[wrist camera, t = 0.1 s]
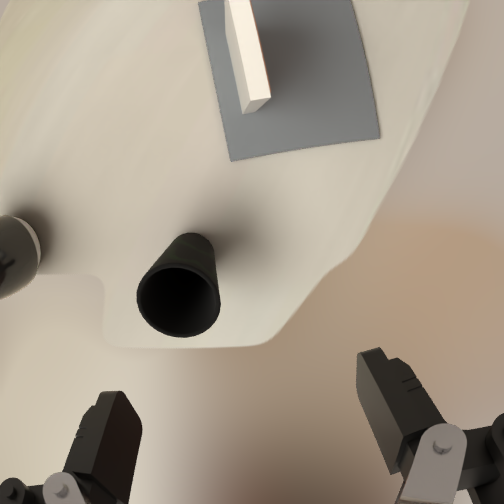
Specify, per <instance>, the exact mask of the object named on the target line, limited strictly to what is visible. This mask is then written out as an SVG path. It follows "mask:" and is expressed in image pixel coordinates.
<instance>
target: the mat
mask: <svg viewBox="0 0 504 504" xmlns="http://www.w3.org/2000/svg"><path fill="white" fill-rule="evenodd" d="M251 4H252V8H253V12H254V16H255V20H256V24H257V29H258V33H259V37H260V42H261V46H262V51H263V55H264V60H265V64H266V69H267V74H268V78H269V83H270V88H271V93H270V94H271V98H270V99H269V100H268V101H267V102H265V103H264V104H263V105H262V106H261V107H260V108H259V109H258V110H257V111H256V112H253V113H248V114H242V110H241V105H240V100H239V95H238V90H237V85H236V81H235V76H234V71H233V66H232V62H231V57H230V52H229V47H228V43H227V38H226V33H225V4H224V0H207V1H202V2H198V5H199V10H200V15H201V20H202V25H203V30H204V35H205V40H206V45H207V49H208V54H209V59H210V64H211V69H212V74H213V79H214V84H215V88H216V93H217V98H218V103H219V108H220V113H221V117H222V122H223V127H224V132H225V137H226V142H227V146H228V151H229V156H230V161H231V162H233V161H237V160H242V159H247V158H253V157H258V156H263V155H269V154H274V153H280V152H286V151H292V150H298V149H304V148H311V147H317V146H324V145H331V144H339V143H347V142H355V141H363V140H372V139H380V135H379V128H378V121H377V115H376V109H375V103H374V97H373V92H372V87H371V82H370V77H369V72H368V67H367V62H366V58H365V54H364V49H363V45H362V41H361V37H360V33H359V29H358V26H357V22H356V18H355V15H354V11H353V8H352V4H351V1H350V0H251Z"/></svg>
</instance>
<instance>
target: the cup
mask: <svg viewBox="0 0 504 504" xmlns="http://www.w3.org/2000/svg"><path fill="white" fill-rule="evenodd" d="M137 304H138V308H139V311H140V313H141V314H142V316H143V318H144V319H145V320H146V321H147V323H148V324H149V325H150V326H152V327H153V328H154V329H156V330H157V331H159V332H161V333H163V334H165V335H168V336H172V337H181V338H187V337H192V336H196V335H199V334H201V333H203V332H205V331H206V330H208V329H209V328H210V327H211V326H212V325H213V324H214V323H215V321H216V320H217V317H218V315H219V313H220V306H221V302H220V295H219V287H218V280H217V273H216V265H215V258H214V250H213V247H212V245H211V243H210V242H209V241H208V240H207V239H206V238H205V237H203V236H201V235H199V234H196V233H186V234H182V235H180V236H178V237H177V238H176V239H175V240H174V241H173V242H172V243H171V244H170V246H169V247H168V248H167V249H166V250H165V251H164V253H163V254H162V255H161V256H160V257H159V259H158V260H157V261H156V262H155V263H154V264H153V266H152V267H151V268H150V269H149V270H148V272H147V273H146V274H145V275H144V277H143V278H142V280H141V281H140V283H139V286H138V289H137Z"/></svg>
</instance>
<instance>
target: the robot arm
mask: <svg viewBox="0 0 504 504" xmlns="http://www.w3.org/2000/svg"><path fill="white" fill-rule="evenodd" d="M356 376H357V377H356V388H357V393H358V397H359V400H360V402H361V405H362V407H363V410H364V412H365V414H366V417H367V419H368V421H369V424H370V426H371V428H372V431H373V433H374V436H375V438H376V440H377V443H378V445H379V448H380V450H381V452H382V455H383V457H384V460H385V462H386V465H387V467H388V470H389V472H390V475H392V474H395V473H397V472H401V474H402V476H403V479H404V481H403V483H402V486H401V488H400V491H399V493H398V496H397V498H396V501H395V503H394V504H453V501H454V498H455V494H456V491H459V490H464V489H467V491H468V493H469V495H470V498H471V500H472V503H473V504H504V413H503V414H501V415H499V416H498V417H497V418H496V419H495V421H494V422H493V424H492V426H488V427H482V428H477V429H471V430H461V429H460V428H459V427H457V426H455V425H452V424H448V423H447V422H446V421H445V420H444V419H443V417H442V416H441V414H440V412H439V411H438V409H437V408H436V406H435V405H434V403H433V401H432V400H431V398H430V397H429V395H428V393H427V392H426V391H425V389H424V388H423V387H422V384H421V383H420V381H419V380H418V379H417V378H416V375H415V374H414V372H413V370H412V369H411V367H410V366H409V365H408V364H406V363H405V362H403V361H402V360H400V359H399V358H394V359H391V360H388V359H387V357H386V355H385V354H384V352H383V351H382V349H381V348H380V347H378V348H375V349H371V350H367V351H364V352H360V353H358V354H357V375H356ZM141 437H142V423H141V420H140V418H139V416H138V414H137V413H136V411H135V410H134V408H133V407H132V405H131V403H130V402H129V400H128V399H127V397H126V395H125V394H124V393H123V392H122V391H105V392H101V393H100V395H99V397H98V400H97V402H96V405H95V406H91V407H90V408H89V410H88V411H87V412H86V413H85V414H84V416H83V418H82V420H81V423H80V425H79V429H78V431H77V433H76V438H74V441H73V444H72V446H71V449H70V452H69V455H68V457H67V460H66V463H65V466H64V469H63V471H62V472H58V473H55V474H53V475H51V476H50V477H49V478H48V479H47V480H46V481H45V483H44V485H35V486H26V485H25V484H24V483H23V482H22V481H20V480H19V479H17V478H8V479H6V480H5V481H4V482H2V484H1V485H0V504H128V502H129V497H130V491H131V486H132V481H133V475H134V470H135V465H136V460H137V455H138V451H139V446H140V441H141Z"/></svg>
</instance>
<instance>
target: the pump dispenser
mask: <svg viewBox="0 0 504 504" xmlns="http://www.w3.org/2000/svg"><path fill="white" fill-rule="evenodd" d="M40 255H41V252H40V244H39V240H38V238H37V235H36V233H35V232H34V230H33V229H32V227H31V226H30V225H29V224H28V223H27V222H25V221H24V220H22V219H20V218H17V217H12V216H7V215H2V216H0V300H2V299H5V298H7V297H9V296H11V295H13V294H15V293H17V292H18V291H20V290H22V289H23V288H25V287H26V286H27V285H29V284H30V283H31V282H32V280H33V279H34V277H35V275H36V272H37V269H38V266H39V262H40Z"/></svg>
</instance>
